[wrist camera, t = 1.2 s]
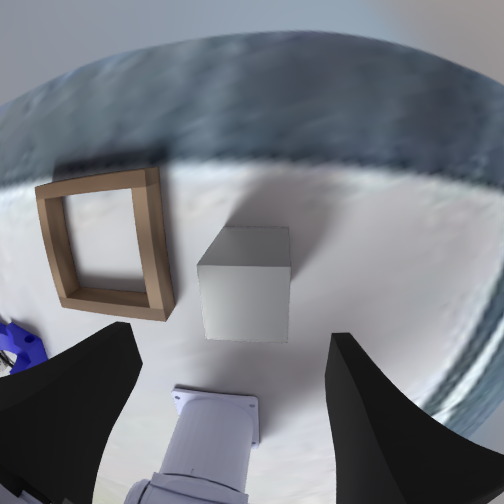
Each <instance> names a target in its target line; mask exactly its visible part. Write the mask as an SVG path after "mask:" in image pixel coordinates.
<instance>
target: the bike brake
mask: <svg viewBox="0 0 504 504" xmlns="http://www.w3.org/2000/svg"><path fill="white" fill-rule="evenodd" d="M0 351H1V350H0ZM3 356H4V357H3ZM1 359H2V360H3V361H4V362H3V361H2V360H1ZM0 360H1V361H0V363H1V362H2V363H1V364H0V372H1V371H3V370H5V369H6V367H7V366H8V365H9V366H10V367H12V368H13V366H14V365H13V364H11V363H10V362H9V361H8V360H7V359H6V357H5V355H4V354H3V352H2V351H1V352H0Z"/></svg>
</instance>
